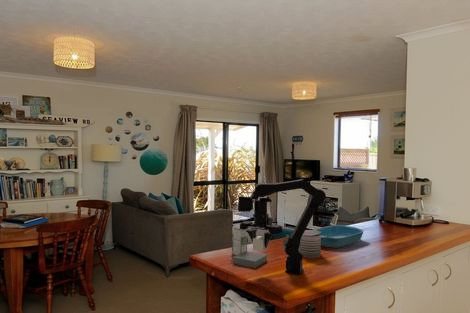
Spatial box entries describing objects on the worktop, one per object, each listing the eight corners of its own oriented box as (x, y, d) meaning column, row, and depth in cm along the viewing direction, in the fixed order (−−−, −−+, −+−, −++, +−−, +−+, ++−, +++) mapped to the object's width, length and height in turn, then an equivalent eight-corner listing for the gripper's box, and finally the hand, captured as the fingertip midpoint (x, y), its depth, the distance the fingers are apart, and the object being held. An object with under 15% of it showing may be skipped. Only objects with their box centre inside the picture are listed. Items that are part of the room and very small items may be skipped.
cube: (267, 248, 158) (268, 237, 158) (262, 251, 154) (263, 239, 154) (257, 247, 161) (258, 236, 161) (252, 249, 157) (252, 238, 157)
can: (319, 259, 177) (319, 235, 177) (296, 256, 181) (296, 233, 181) (321, 252, 188) (322, 230, 188) (300, 250, 192) (300, 228, 192)
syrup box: (238, 251, 188) (238, 224, 188) (247, 254, 184) (247, 226, 184) (231, 254, 184) (231, 226, 183) (240, 256, 180) (240, 227, 180)
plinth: (266, 261, 173) (266, 254, 173) (255, 267, 162) (255, 261, 162) (245, 257, 179) (245, 251, 179) (232, 263, 168) (232, 257, 168)
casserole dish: (334, 252, 191) (335, 238, 191) (301, 243, 208) (302, 231, 207) (369, 241, 215) (370, 229, 215) (337, 234, 232) (337, 223, 231)
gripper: (287, 211, 160) (287, 245, 160) (250, 207, 169) (250, 240, 169) (277, 214, 150) (276, 251, 150) (239, 210, 159) (238, 245, 160)
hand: (260, 246), depth 158 cm, fingers closed on cube, 5 cm apart
